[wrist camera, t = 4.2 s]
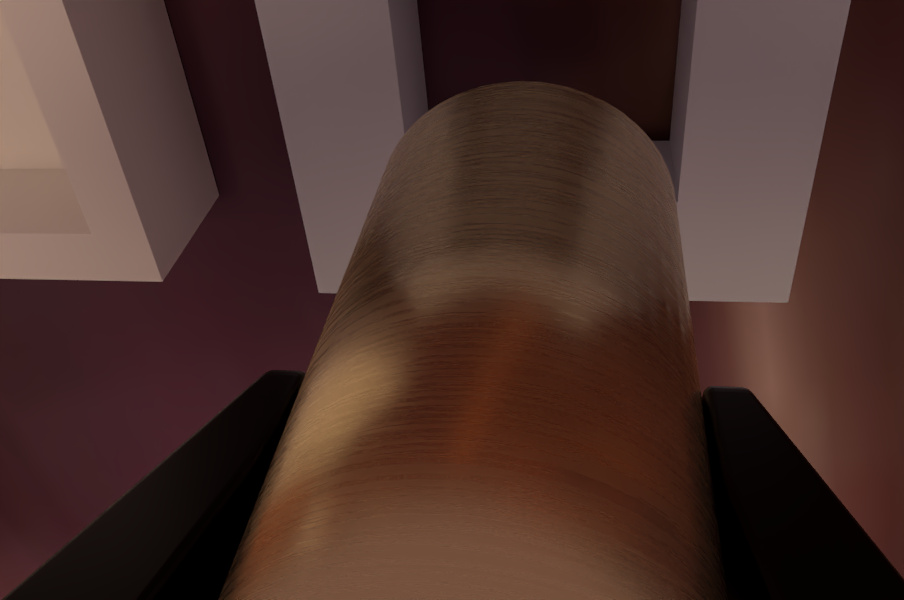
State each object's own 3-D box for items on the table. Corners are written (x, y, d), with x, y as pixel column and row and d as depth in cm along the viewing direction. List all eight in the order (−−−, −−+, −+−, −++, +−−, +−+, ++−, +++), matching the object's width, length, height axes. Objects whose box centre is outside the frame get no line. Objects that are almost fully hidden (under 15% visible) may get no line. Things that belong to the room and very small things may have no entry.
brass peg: (397, 328, 13) (108, 1349, 5) (360, 84, 11) (-273, 1312, 3) (664, 336, 13) (767, 1497, 5) (690, 77, 10) (991, 1610, 2)
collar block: (344, 230, 21) (318, 292, 19) (255, -250, 15) (203, -229, 13) (769, 234, 20) (787, 302, 18) (865, -298, 13) (909, -283, 11)
